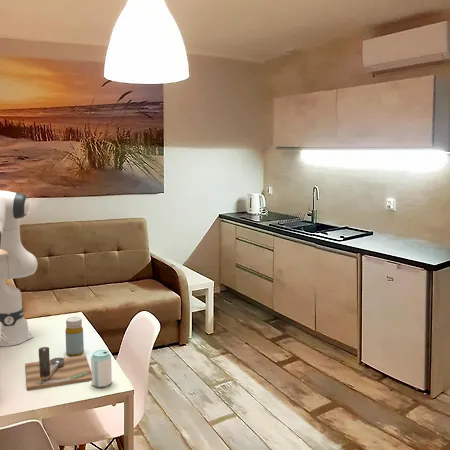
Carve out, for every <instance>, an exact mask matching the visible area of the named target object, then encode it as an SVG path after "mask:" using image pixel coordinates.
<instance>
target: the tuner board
mask: <svg viewBox="0 0 450 450" xmlns="http://www.w3.org/2000/svg"><path fill="white" fill-rule="evenodd" d="M62 358H63V359H64V365H63V366H62V367H59V368H57V369H56V371H55V372H54V373H53V374H52V375H51V376H50V378H49V379H48V380H40V368H39V361H34V362H25V365H24V366H25V379H26V392H28V391H34V390H35V391H36V390H40V389H46V388H52V387H53V388H55V387H60V386H65V385H66V386H67V385H74V384H78V383H85V382H92V370H91V367H90V364H89V361H88V359H87V356H86V354H84V355H83V354H81V355H79V356H68V357H62ZM50 361H51V359H50ZM50 365H51V363H50Z"/></svg>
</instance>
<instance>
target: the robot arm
mask: <svg viewBox="0 0 450 450" xmlns="http://www.w3.org/2000/svg"><path fill="white" fill-rule="evenodd" d="M29 210H30V201H29V198H28V196H27V195H26V194H25V193H22V192H18V191H17V192H14V191H9V190H0V250H2V251H5V252H6V253H5V254H0V347H6V348H8V347H10V346H16V345H20V344H23V343H25V342H26V341H29V340H31V339H33V338H34V335H33V333H32V332H31V331H30V330H29V327H28V326H29V325H28V324H29V323H28V320H27V319H26V318H25V317H24V316H25V315H24V308H23V301H22V300H23V299H22V298H23V297H22V296H23V295H22V292H21V290H20V289H19V288H17V287H15V286H13V285H10V284H7V283H6V281H7V280H12V279H13V280H14V279H21V278H26V277H29V276H31V275H32V276H33V275H34V274H35V272H36V271H37V269H38V265H39V264H38V263H39V262H38V259H37V257H36V256H35V254H33V253H32V252H30V251H28V250H27V249H26V248H25V247H24V246H23V244H22V240H21V225H20V223H21V221H20V219H24V218H25V217H26V216H27V215H28V212H29Z"/></svg>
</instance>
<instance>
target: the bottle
mask: <svg viewBox="0 0 450 450" xmlns="http://www.w3.org/2000/svg"><path fill="white" fill-rule="evenodd" d="M82 319H83V318H82V317H80V316H70V317H67V318H66V320H65V325H66V327H65V351H66V355H67V356H68V357H75V356H82V355H83V353H84V351H85V349H84V347H85V346H84V345H85V344H84V328H83V326H82V324H83V323H82V321H83V320H82Z"/></svg>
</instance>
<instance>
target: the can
mask: <svg viewBox="0 0 450 450" xmlns="http://www.w3.org/2000/svg"><path fill="white" fill-rule="evenodd" d="M90 360H91V362H90V365H91V367H90V369H91V372H92V381H91V384H92V386H94V387H96V388H105V387H108V386H110V385H111V384H112V380H113V379H112V378H113V376H112V373H113V372H112V355H111V354H110V351H109V350H108V349H107V350H106V349H98V350H95V351H93V353H92V355H91V358H90Z"/></svg>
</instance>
